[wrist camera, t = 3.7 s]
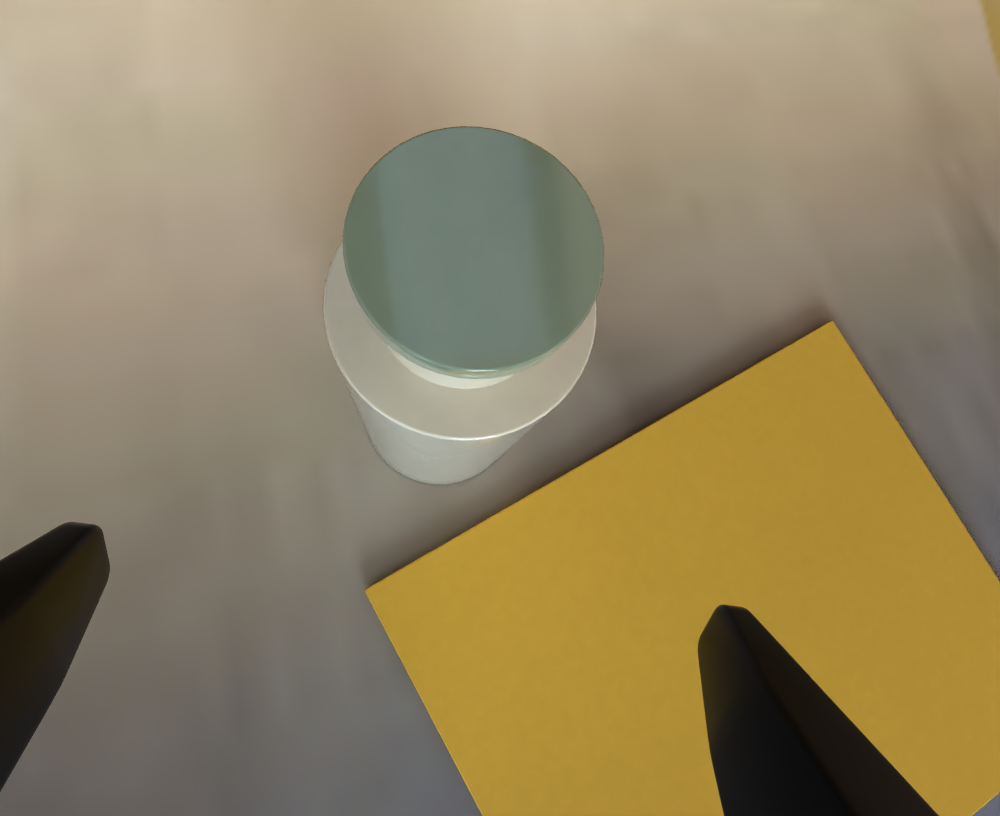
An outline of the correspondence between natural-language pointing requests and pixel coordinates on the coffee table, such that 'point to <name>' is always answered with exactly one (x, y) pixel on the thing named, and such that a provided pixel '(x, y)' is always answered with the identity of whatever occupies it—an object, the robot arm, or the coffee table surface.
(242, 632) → the coffee table surface
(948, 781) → the cloth
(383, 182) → the bottle
